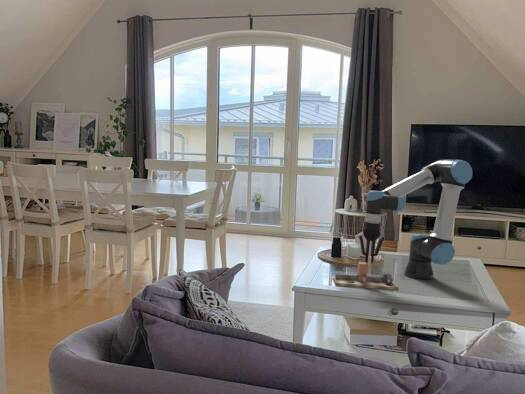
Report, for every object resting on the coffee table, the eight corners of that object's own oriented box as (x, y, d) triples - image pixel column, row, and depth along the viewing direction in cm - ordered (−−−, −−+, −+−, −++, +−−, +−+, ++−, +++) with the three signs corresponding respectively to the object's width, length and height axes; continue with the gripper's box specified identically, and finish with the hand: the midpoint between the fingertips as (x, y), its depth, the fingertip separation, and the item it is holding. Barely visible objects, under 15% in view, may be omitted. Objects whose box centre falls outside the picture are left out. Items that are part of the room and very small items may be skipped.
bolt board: (391, 283, 244) (392, 280, 244) (398, 289, 232) (398, 287, 232) (332, 278, 244) (332, 276, 244) (335, 285, 232) (335, 282, 232)
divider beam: (390, 284, 242) (391, 273, 242) (394, 288, 235) (395, 276, 234) (334, 279, 242) (335, 269, 242) (336, 283, 235) (337, 272, 235)
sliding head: (364, 279, 243) (366, 262, 242) (368, 283, 235) (369, 266, 234) (356, 278, 243) (358, 261, 242) (359, 282, 235) (361, 265, 234)
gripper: (384, 222, 242) (379, 268, 244) (358, 220, 242) (353, 266, 244) (387, 224, 234) (383, 272, 236) (360, 222, 234) (356, 270, 236)
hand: (368, 269), depth 240 cm, fingers closed
